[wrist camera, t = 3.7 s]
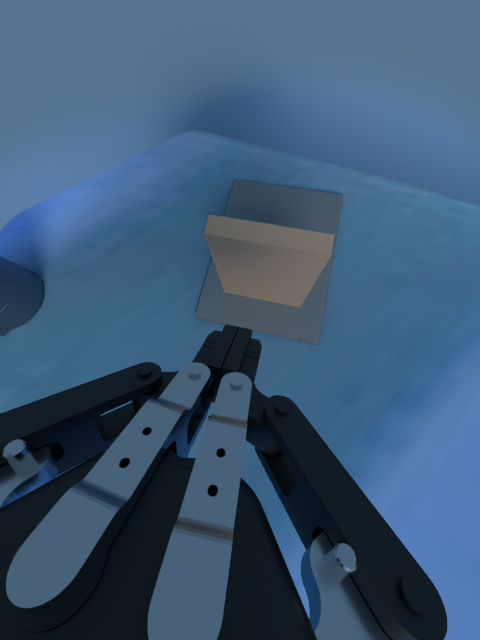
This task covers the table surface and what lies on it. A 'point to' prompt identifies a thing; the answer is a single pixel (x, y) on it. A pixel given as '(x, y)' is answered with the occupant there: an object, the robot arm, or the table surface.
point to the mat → (282, 210)
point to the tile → (267, 258)
